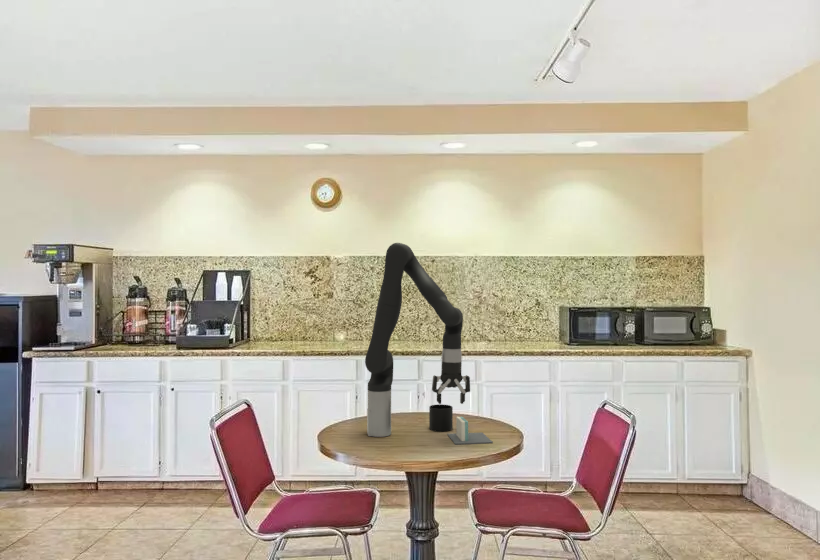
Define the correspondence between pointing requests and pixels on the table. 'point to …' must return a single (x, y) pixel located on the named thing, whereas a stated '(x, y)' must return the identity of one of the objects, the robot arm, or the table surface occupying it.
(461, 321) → the robot arm
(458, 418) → the block
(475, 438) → the mat
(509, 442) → the table surface
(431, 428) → the mug
